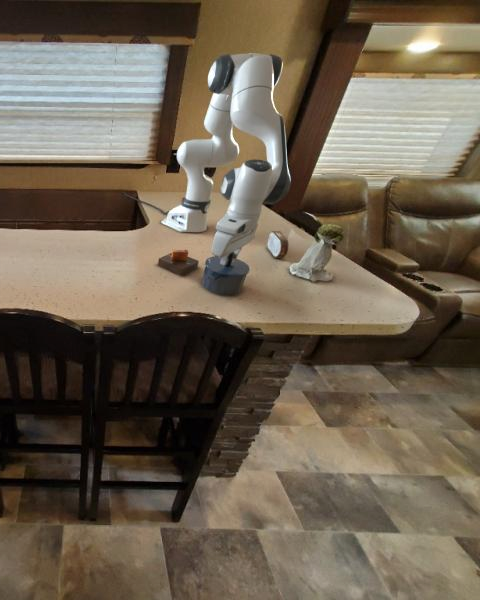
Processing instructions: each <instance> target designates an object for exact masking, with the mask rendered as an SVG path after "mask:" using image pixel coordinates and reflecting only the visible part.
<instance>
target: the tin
mask: <svg viewBox="0 0 480 600" xmlns="http://www.w3.org/2000/svg"><path fill="white" fill-rule="evenodd" d="M266 247H267V250H268V251H269V253H270V254H271V255H272V256H273V257H274V258H275V259H285V257H286V255H287V254H288V251H289V239H288V237H286V236H285V234H284V233H283V232H282V231H281V230H272V231H270V233H269V235H268V237H267V241H266Z"/></svg>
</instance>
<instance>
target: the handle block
mask: <svg viewBox="0 0 480 600" xmlns="http://www.w3.org/2000/svg"><path fill="white" fill-rule="evenodd" d="M171 256H172V252H170V253H167V254H166V255H164V256H161V257H159V258H158V261H157V266H158V267H160V268H162V269H165V270H167V271H169V272H172V273H174V274H176V275H178V276H180V277H183V276H185V275H187V274H189V273H191V272H192V271H194V270H196V269H198V267H199V262H200V260H197V259H196V258H193V257H190V256H188V257H187V261H177V260H171Z"/></svg>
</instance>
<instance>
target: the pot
mask: <svg viewBox="0 0 480 600" xmlns="http://www.w3.org/2000/svg"><path fill="white" fill-rule="evenodd" d="M247 276H248V274H246V275H244V276H237V277H233V276H225V275H221V274H218V273H215V272H213V271H211V270H210V269H208V268H207V267H206V266H205V267H204V271H203V275H202V278H201V285H202V287H203V288H204V289H205V290H207V291H208V292H211V293H212V294H216V295H218V296H219V295H220V296H235V295H238V294H239V293H240V292H241V291H242V289H243V286H244V284H245V280H246V278H247Z"/></svg>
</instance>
